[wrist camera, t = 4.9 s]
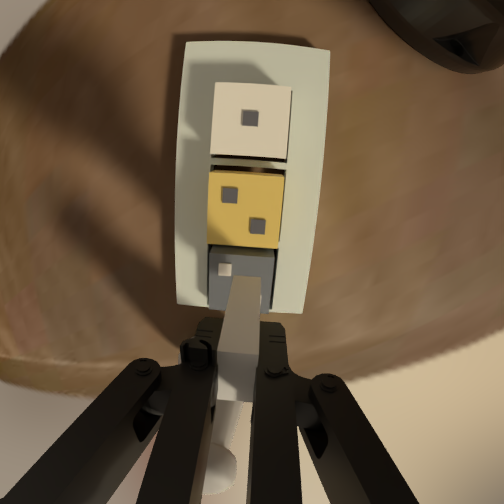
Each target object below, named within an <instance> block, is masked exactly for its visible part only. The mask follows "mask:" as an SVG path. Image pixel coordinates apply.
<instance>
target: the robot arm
mask: <svg viewBox="0 0 504 504" xmlns="http://www.w3.org/2000/svg"><path fill="white" fill-rule="evenodd" d="M369 1H370V3H371V4H372V6H373V7H374V8H375V10H376V11H377V12H378V14H379V15H380V16H381V17H382V18H383V19H384V21H385V22H386V23H387V24H388V25H389V26H390V27H391V28H392V29H393V30H394V31H395V32H396V33H397V34H398V35H399V36H400V37H401V38H402V39H403V40H405V41H406V42H407V43H408V44H409V45H410V46H412V47H413V48H414V49H416V50H417V51H418V52H420V53H421V54H422V55H424V56H425V57H427V58H428V59H430V60H432V61H433V62H435V63H437V64H439V65H441V66H443V67H445V68H447V69H450V70H452V71H456V72H459V73H465V74H476V73H481V72H486V71H490V70H494V69H496V68H498V67H500V66H502V65H503V64H504V0H369ZM260 296H261V277H251V276H238V275H234V277H233V281H232V285H231V290H230V294H229V299H228V303H227V308H226V312H225V317H224V319H219V318H209V317H205V318H204V319H203V320H202V321H201V322H199V325H198V328H197V331H196V334H195V336H194V338H190V339H187V340H185V341H183V342H182V343H181V345H180V355H181V363H180V364H178V365H175V366H169V367H160V365H159V364H158V363H157V362H156V361H154V360H153V359H149V358H139V359H136V360H134V361H132V362H131V363H129V364H128V366H127V367H126V368H125V369H124V370H123V371H122V372H121V373H120V374H119V375H118V376H117V377H116V378H115V379H114V380H113V381H112V382H111V383H110V384H109V385H108V386H107V387H106V388H105V390H104V391H103V392H102V393H101V394H100V395H99V396H98V397H97V398H96V399H95V400H94V401H93V402H92V403H91V404H90V405H89V407H87V409H86V410H85V411H84V412H83V413H82V414H81V415H80V416H79V417H78V418H77V419H76V420H75V421H74V422H73V423H72V425H70V427H69V428H68V429H67V430H66V431H65V432H64V433H63V434H62V435H61V436H60V437H59V438H58V439H57V440H56V441H55V442H54V443H53V445H52V446H51V447H50V448H49V449H48V450H47V451H46V452H45V453H44V454H43V455H42V456H41V457H40V459H39V460H38V461H37V462H36V463H35V464H34V465H33V466H32V467H31V468H30V469H29V471H27V473H26V474H25V475H24V476H23V477H22V478H21V479H20V480H19V481H18V482H17V483H16V485H15V486H14V487H13V488H12V489H11V490H10V491H9V492H8V493H7V494H6V495H5V497H4V498H1V499H0V504H106V503H107V502H108V501H109V499H110V498H111V496H112V495H113V494H114V492H115V491H116V489H117V488H118V487H119V485H120V484H121V482H122V481H123V480H124V478H125V477H126V475H127V474H128V472H129V471H130V470H131V468H132V467H133V465H134V464H135V463H136V461H137V460H138V458H139V457H140V455H141V453H143V451H144V450H145V448H146V447H147V445H148V444H149V442H150V441H151V440H152V438H153V436H154V435H155V434H156V432H157V431H158V429H159V431H158V433H157V436H156V440H155V443H154V446H153V449H152V452H151V455H150V458H149V462H148V465H147V468H146V471H145V475H144V478H143V481H142V485H141V488H140V491H139V495H138V498H137V502H136V504H201V498H202V492H203V486H204V480H205V473H206V467H207V461H208V455H209V449H210V443H211V437H212V431H213V425H214V419H215V413H216V399H221V400H230V401H241V402H253V407H252V415H251V437H250V452H249V469H248V484H247V499H246V504H302V491H301V476H300V461H299V447H298V435H297V426H299V430H300V432H301V435H302V437H303V440H304V442H305V444H306V447H307V449H308V451H309V454H310V456H311V459H312V461H313V464H314V466H315V468H316V471H317V473H318V475H319V478H320V480H321V482H322V485H323V487H324V490H325V492H326V494H327V497H328V499H329V501H330V503H331V504H419V502H418V501H417V499H416V498H415V496H414V494H413V493H412V491H411V489H410V488H409V486H408V484H407V483H406V481H405V479H404V478H403V476H402V475H401V473H400V471H399V470H398V468H397V466H396V465H395V463H394V461H393V460H392V458H391V457H390V455H389V453H388V452H387V450H386V449H385V447H384V445H383V444H382V442H381V440H380V439H379V437H378V435H377V434H376V432H375V431H374V429H373V427H372V426H371V424H370V423H369V421H368V419H367V418H366V416H365V414H364V413H363V411H362V410H361V408H360V407H359V405H358V403H357V402H356V400H355V398H354V397H353V395H352V394H351V392H350V390H349V389H348V387H347V386H346V384H345V382H344V381H343V380H342V379H341V378H340V377H338V376H336V375H333V374H329V373H328V374H320V375H317V376H315V377H314V378H313V379H312V380H311V379H307V378H303V377H301V376H298V375H297V374H295V373H294V372H293V371H291V368H290V367H289V365H288V355H287V345H286V335H285V329H284V327H283V326H282V325H281V323H277V322H263V321H260Z"/></svg>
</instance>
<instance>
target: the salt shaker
mask: <svg viewBox="0 0 504 504" xmlns="http://www.w3.org/2000/svg"><path fill="white" fill-rule="evenodd" d="M192 338H194V336H193V337H192ZM180 363H181V355H180V353H179V357H178V364H180ZM243 403H244V402H241V401H230V400H221V399H216V413H215V419H214V425H213V431H212V437H211V443H210V449H209V455H208V461H207V467H206V473H205V480H204V486H203V492H202V494H207V495H211V494H218V493H222V492H224V491H226V490H227V489H229V488H230V487H232V486H233V484H234V481H235V478H236V458H235V456H234V455H233V454H232V453H231V451H230V450H229V449H230V446H231V443H232V439H233V436H234V433H235V430H236V426H237V423H238V420H239V416H240V413H241V410H242V406H243Z"/></svg>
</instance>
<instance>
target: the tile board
mask: <svg viewBox="0 0 504 504" xmlns="http://www.w3.org/2000/svg"><path fill="white" fill-rule="evenodd" d="M329 67H330V51H328V50H323V49H317V48H310V47H303V46H295V45H287V44H277V43H265V42H247V41H197V42H186V47H185V55H184V64H183V73H182V82H181V93H180V104H179V117H178V132H177V151H176V176H175V268H176V294H177V304H182V305H191V306H201V307H209V253H210V251H211V244H207V211H208V186H209V172H211V171H213V170H214V165H231V166H247V167H261V168H273V169H284V177H285V178H284V189H283V200H282V210H281V221H280V231H279V241H278V249H277V251H276V260H275V269H274V279H273V288H272V297H271V299H270V306H269V312H280V313H300V314H302V312H303V306H304V300H305V294H306V288H307V282H308V276H309V270H310V263H311V256H312V249H313V242H314V235H315V227H316V220H317V212H318V203H319V195H320V186H321V177H322V167H323V156H324V145H325V133H326V120H327V106H328V89H329ZM215 82H230V83H253V84H267V85H278V86H288V87H291V102H290V116H289V129H288V142H287V154H286V159H285V162H276V161H264V160H251V159H235V158H215V154H210V147H211V132H212V117H213V104H214V92H215Z"/></svg>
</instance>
